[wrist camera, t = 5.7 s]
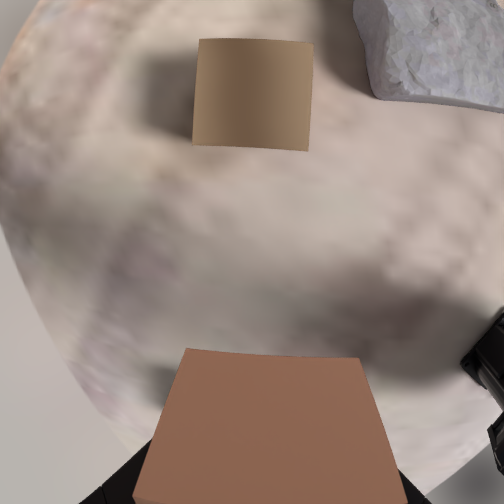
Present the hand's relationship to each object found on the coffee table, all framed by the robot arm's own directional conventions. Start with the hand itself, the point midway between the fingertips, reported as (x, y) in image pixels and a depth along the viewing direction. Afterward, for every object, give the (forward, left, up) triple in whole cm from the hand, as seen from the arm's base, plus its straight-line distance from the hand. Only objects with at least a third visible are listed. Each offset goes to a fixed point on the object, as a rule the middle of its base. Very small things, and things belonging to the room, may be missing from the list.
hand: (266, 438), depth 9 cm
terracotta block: (0, 0, -1) cm, 1 cm away
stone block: (+1, -20, -13) cm, 24 cm away
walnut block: (+7, -8, -13) cm, 16 cm away
